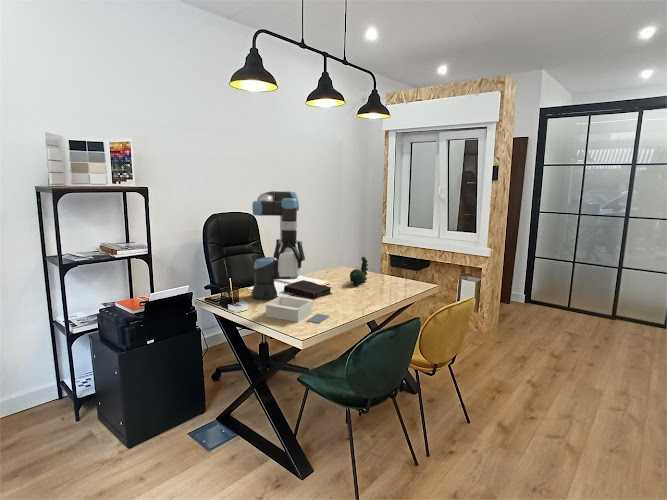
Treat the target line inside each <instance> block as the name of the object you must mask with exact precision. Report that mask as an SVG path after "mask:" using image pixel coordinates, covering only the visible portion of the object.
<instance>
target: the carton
mask: <svg viewBox="0 0 667 500" xmlns="http://www.w3.org/2000/svg"><path fill="white" fill-rule="evenodd" d="M313 301H314V300H313V299H310V298H306V297H297V296H291V295H286V294H283V295H280V296H277V297H276V298H274V299H270V300H268V301H267V302H265V303H263V304H262V305H263V306H265V317H268V318H273V319H279V320H285V321H291V322H295V323H299V322H301V321H303V320H304V319H306V318H307V317H309V316H311V315H312V305H313V304H312V302H313Z"/></svg>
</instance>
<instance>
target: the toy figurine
mask: <svg viewBox="0 0 667 500" xmlns="http://www.w3.org/2000/svg"><path fill="white" fill-rule="evenodd" d="M360 258H361V262H362V263H361V267H360V269H359V268H355V269H353V270H351V271H350V272H349V273H350V274H349V279H350V280H349V281H351V282H352V285H353V286H355V287H358V286H359V285H360V284H362V285H363V284H365V283H366V282H367V280H368V278H367V276H368V272H367V271H368V269H369V268H367V267H368V266H369V265H368V260H367V259H366V257H365V256H362V257H360Z"/></svg>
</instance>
